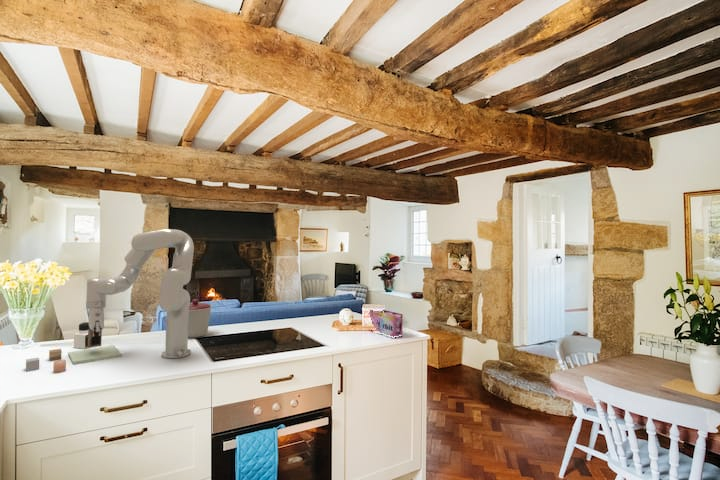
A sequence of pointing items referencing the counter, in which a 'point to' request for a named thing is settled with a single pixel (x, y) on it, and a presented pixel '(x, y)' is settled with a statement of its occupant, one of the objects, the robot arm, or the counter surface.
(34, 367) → the stone cube
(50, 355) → the oak cube
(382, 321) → the gum box
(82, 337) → the medicine bottle
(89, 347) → the walnut block
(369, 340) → the counter surface
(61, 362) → the terracotta cylinder
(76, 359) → the sage board
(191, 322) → the canister
